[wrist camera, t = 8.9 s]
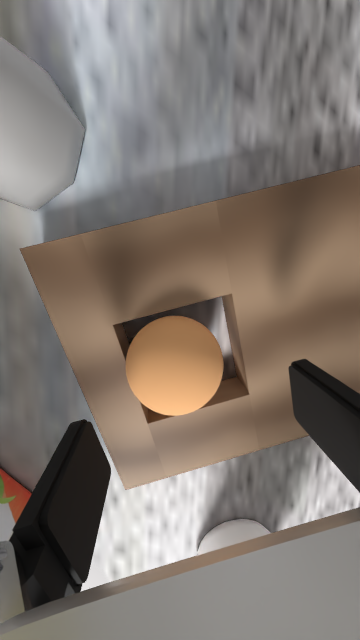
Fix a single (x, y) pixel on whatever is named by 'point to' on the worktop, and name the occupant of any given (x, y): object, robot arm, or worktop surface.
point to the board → (239, 305)
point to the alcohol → (231, 534)
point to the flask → (34, 132)
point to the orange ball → (174, 365)
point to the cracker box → (10, 504)
